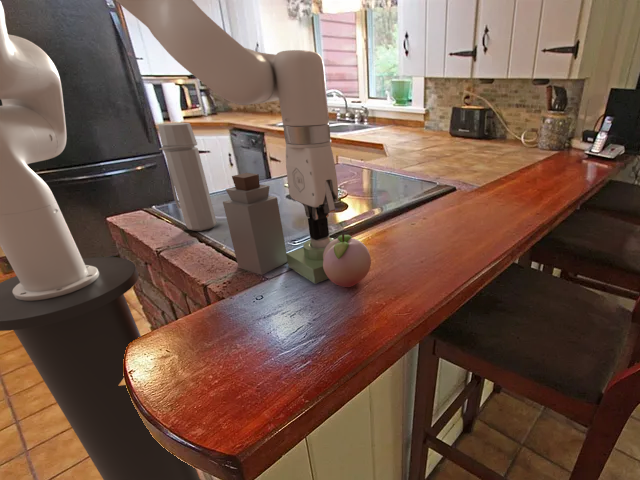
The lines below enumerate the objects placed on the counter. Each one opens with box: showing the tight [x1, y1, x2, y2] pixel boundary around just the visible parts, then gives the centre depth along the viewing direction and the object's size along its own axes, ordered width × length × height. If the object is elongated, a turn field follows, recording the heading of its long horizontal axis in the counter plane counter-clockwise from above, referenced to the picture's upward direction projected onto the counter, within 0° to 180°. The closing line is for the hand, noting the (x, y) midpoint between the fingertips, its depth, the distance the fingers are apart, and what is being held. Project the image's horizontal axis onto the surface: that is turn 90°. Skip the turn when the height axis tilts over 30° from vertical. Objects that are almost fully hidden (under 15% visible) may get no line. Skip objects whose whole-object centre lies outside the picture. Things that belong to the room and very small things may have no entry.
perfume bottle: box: [222, 172, 288, 276], centre depth 69 cm, size 7×7×18 cm
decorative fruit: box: [323, 233, 372, 288], centre depth 63 cm, size 9×8×10 cm
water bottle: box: [157, 122, 218, 232], centre depth 88 cm, size 9×8×25 cm
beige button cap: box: [309, 235, 331, 248], centre depth 69 cm, size 4×4×2 cm
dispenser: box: [286, 237, 336, 285], centre depth 71 cm, size 10×10×5 cm
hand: (319, 236), depth 69 cm, fingers closed
